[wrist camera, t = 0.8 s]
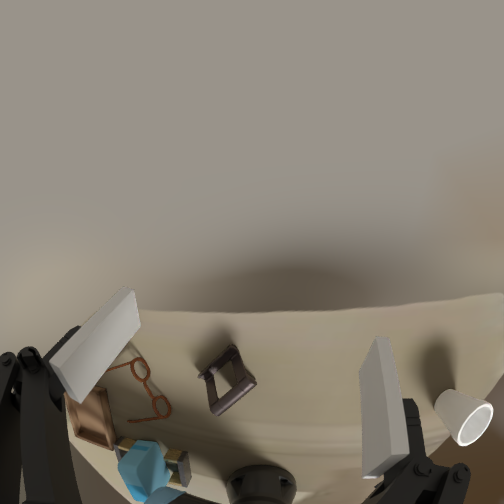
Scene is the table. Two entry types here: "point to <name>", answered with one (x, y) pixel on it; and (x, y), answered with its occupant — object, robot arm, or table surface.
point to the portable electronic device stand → (237, 391)
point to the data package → (143, 469)
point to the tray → (92, 418)
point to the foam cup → (463, 415)
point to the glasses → (146, 390)
